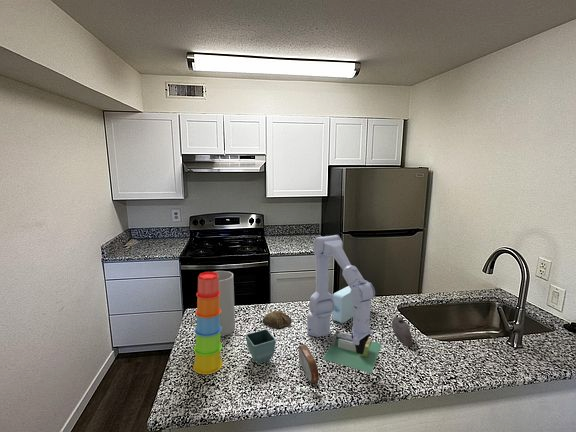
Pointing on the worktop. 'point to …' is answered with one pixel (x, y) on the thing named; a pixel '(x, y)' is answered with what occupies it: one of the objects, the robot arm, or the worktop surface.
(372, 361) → the green board with slider
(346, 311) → the light blue box
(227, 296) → the cylinder vase
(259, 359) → the flower pot
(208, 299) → the stacking cups
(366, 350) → the block
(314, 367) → the tin
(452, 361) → the worktop surface
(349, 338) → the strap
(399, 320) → the perforated stone tool
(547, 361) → the worktop surface
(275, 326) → the bread roll
